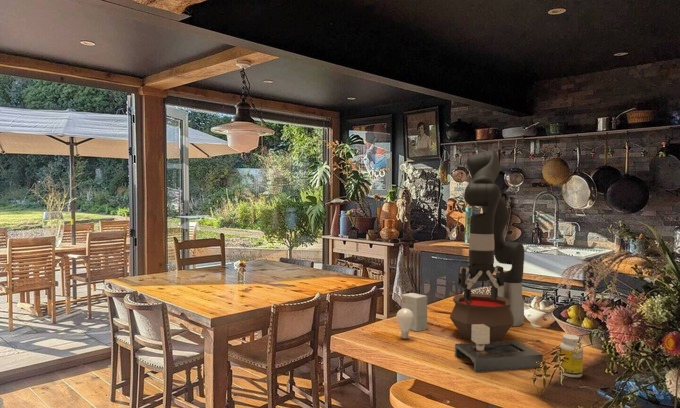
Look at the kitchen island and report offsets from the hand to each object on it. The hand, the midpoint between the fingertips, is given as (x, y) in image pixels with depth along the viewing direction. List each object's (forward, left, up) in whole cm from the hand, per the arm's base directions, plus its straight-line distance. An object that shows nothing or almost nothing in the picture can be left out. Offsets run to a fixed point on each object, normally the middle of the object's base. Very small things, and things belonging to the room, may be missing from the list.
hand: (480, 300), depth 145 cm
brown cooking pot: (-14, -25, -20) cm, 35 cm away
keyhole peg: (0, 0, -20) cm, 20 cm away
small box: (+7, -39, -20) cm, 44 cm away
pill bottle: (-22, +13, -20) cm, 32 cm away
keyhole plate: (-6, 0, -20) cm, 20 cm away
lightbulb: (+15, -27, -20) cm, 37 cm away
